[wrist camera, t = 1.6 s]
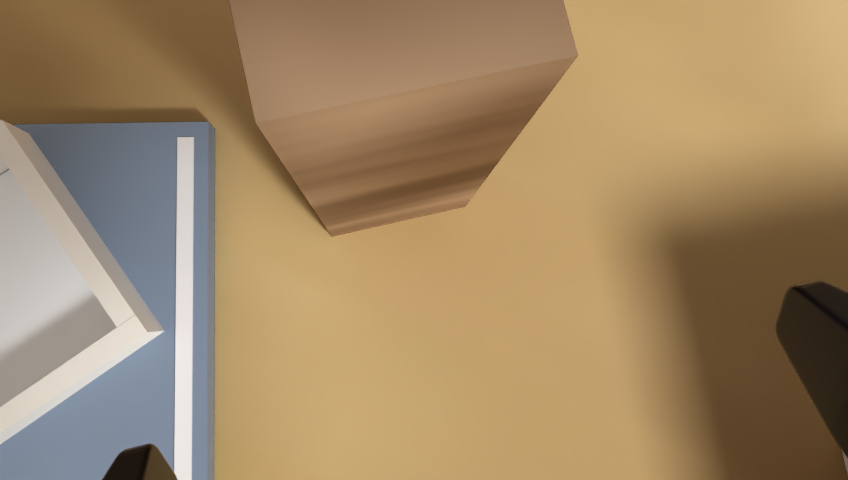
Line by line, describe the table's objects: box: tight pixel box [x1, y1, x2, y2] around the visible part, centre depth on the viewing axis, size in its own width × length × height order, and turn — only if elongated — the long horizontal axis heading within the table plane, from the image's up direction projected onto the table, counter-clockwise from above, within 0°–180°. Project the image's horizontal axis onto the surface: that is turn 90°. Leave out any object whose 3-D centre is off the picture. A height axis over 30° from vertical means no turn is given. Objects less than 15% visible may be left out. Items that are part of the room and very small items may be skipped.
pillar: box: [229, 0, 578, 236], centre depth 16 cm, size 4×4×13 cm
